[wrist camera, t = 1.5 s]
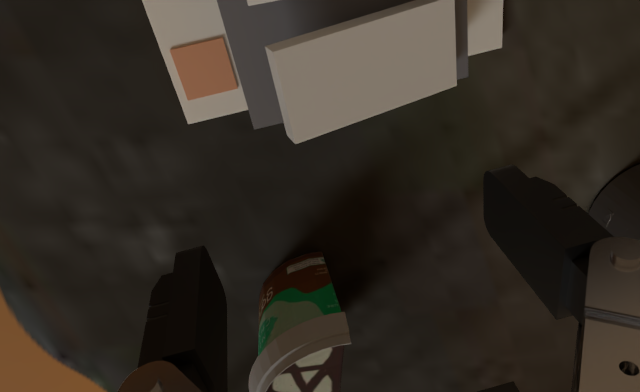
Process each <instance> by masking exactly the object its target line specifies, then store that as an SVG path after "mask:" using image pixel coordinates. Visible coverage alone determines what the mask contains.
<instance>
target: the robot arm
mask: <svg viewBox="0 0 640 392" xmlns="http://www.w3.org/2000/svg"><path fill="white" fill-rule="evenodd" d="M484 221H485V225H486V228H487V230H488V232H489V234H490V236H491V237H492V238H493V240H494V241H495V242H496V244H497V245H498V246H499V247H500V249H501V250H502V251H503V252H504V254H505V255H506V256H507V258H508V259H509V260H510V261H511V263H512V264H513V265H514V266H515V268H516V269H517V270H518V271H519V273H520V274H521V275H522V277H523V278H524V279H525V280H526V282H527V283H528V284H529V285H530V287H531V288H532V289H533V291H534V292H535V293H536V294H537V296H538V297H539V298H540V299H541V301H542V302H543V303H544V305H545V306H546V307H547V308H548V310H549V311H550V312H551V313H552V315H553V316H554V317H555V319H556V320H558V319H561V318H565V317H569V316H572V315H573V316H574V317H575V318H576V319H577V320H578V322H579V324H578V330H577V339H576V349H575V359H574V369H573V378H572V388H571V392H640V164H639V165H636V166H634V167H632V168H630V169H628V170H627V171H625V172H623V173H622V174H620V175H619V176H618V177H616V178H615V179H614V180H613V181H611V182H610V183H609V184H608V185H607V186H606V187H605V188H604V189H603V190H602V192H601V193H600V194H599V196H598V197H597V198H596V200H595V201H594V203H593V205H592V207H591V209H590V211H589V214H588V213H586V212H585V211H584V210H583V209H582V208H581V207H580V206H578V207H577V204H576V203H575V202H574V201H573V200H572V199H570V198H569V197H568V198H567V196H566V194H565V193H563V192H562V191H561V190H560V189H559V188H558V187H557V186H555V185H554V184H552V183H550V182H547V181H545V180H543V179H540V178H538V177H533V178H528V177H527V176H526V175H525V174H524V173H523V172H522V171H521V170H520V169H518V168H517V167H516V166H515V165H508V166H505V167H501V168H497V169H493V170H490V171H486V172H485V174H484ZM149 308H150V309H148V314H147V322H146V325H145V331H144V336H143V341H142V347H141V352H140V358H139V363H138V368H137V369H136V370H135V371H133V372H132V373H131V374H130V375H129V376H128V377H127V378H126V379H125V380H124V382H123V383H122V384H121V386H120V388H119V390H118V392H227V303H226V297H225V293H224V289H223V286H222V284H221V281H220V279H219V277H218V274H217V272H216V270H215V267H214V265H213V263H212V261H211V258H210V256H209V254H208V251H207V249H206V248H205V247H204V246H200V247H196V248H193V249H189V250H185V251H181V252H178V253H176V256H175V263H174V270H173V273H170V274H166V275H162V276H161V278H160V279H159V281H158V282H157V284H156V285H155V287H154V288H153V290H152V292H151V298H150V303H149ZM478 392H519V390H518V388H517V387H516V385H515V383H514V382H510V383H506V384H503V385H499V386H495V387H492V388H488V389H485V390H481V391H478Z"/></svg>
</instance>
